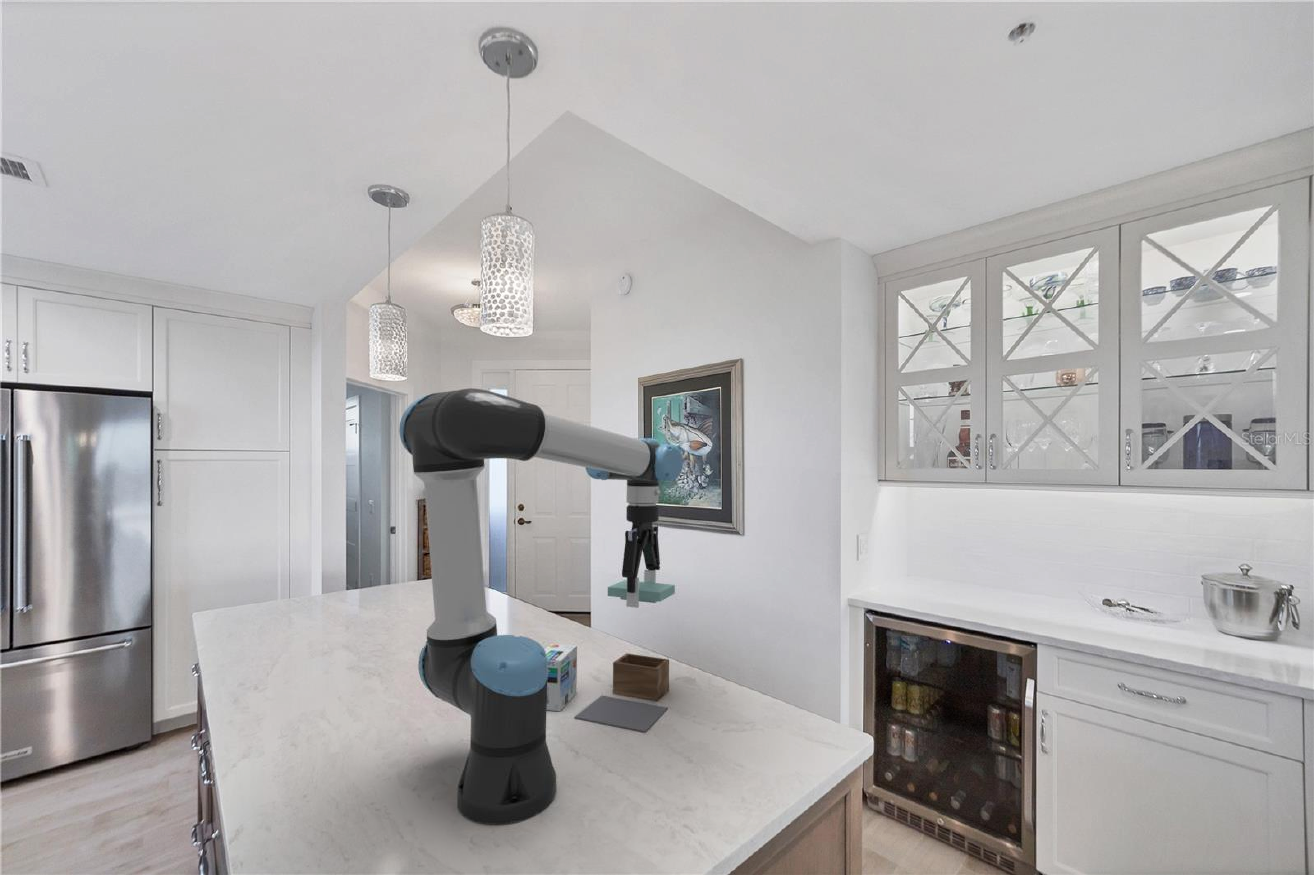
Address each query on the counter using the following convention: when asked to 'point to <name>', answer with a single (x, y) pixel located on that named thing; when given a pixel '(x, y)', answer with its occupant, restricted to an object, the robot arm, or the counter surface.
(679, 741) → the counter surface
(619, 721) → the mat
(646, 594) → the lid
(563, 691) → the light bulb box
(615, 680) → the box
